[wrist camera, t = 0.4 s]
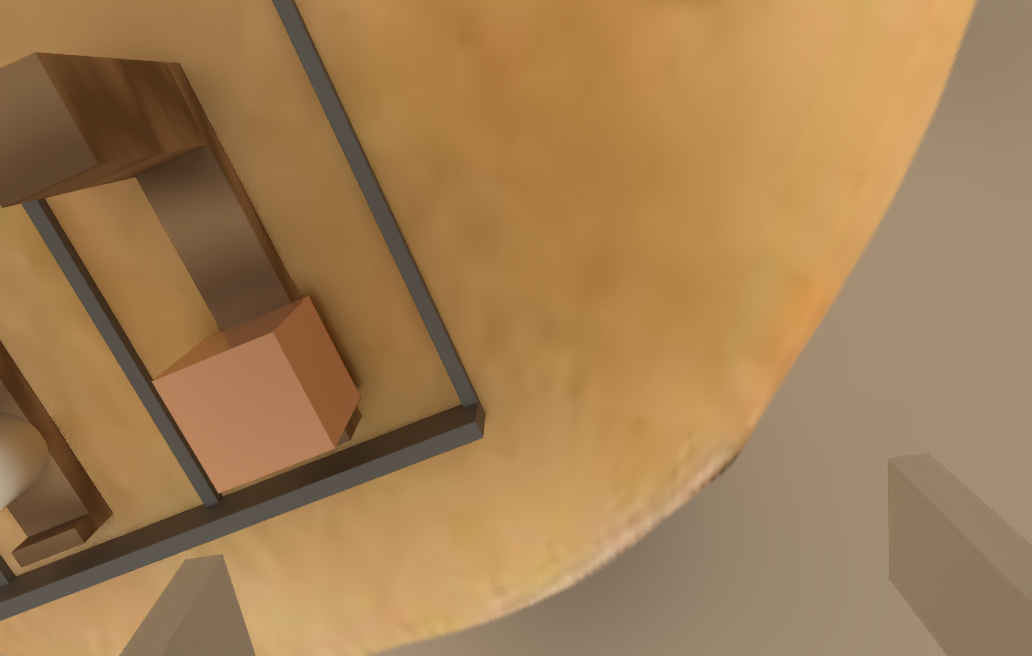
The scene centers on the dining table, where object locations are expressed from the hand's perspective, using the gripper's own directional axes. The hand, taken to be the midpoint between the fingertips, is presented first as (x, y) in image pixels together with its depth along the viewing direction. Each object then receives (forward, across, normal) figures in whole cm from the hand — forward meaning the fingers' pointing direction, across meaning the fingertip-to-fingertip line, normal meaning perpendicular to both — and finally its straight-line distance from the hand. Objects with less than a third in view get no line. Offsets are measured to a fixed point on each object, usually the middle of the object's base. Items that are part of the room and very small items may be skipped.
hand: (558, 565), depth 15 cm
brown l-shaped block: (+26, -15, +2) cm, 30 cm away
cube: (+24, -14, -3) cm, 28 cm away
